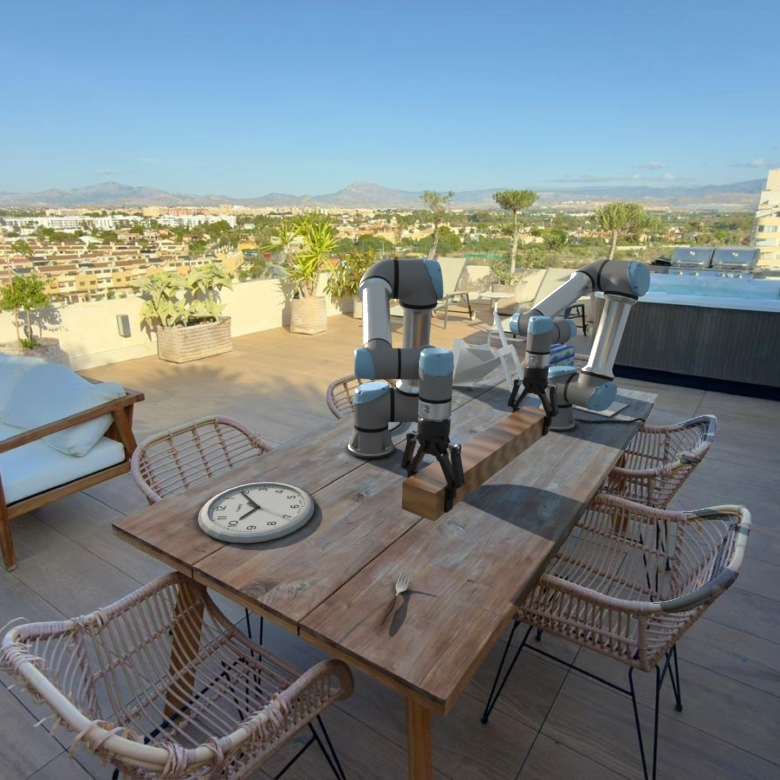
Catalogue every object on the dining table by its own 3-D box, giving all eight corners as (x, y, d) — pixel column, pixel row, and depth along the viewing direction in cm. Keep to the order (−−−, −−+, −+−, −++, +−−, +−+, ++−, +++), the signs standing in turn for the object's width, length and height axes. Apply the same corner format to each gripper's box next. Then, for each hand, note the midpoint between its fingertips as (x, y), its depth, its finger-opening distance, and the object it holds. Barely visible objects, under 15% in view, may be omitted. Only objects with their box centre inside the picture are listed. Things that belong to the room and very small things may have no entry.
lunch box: (547, 395, 239) (552, 351, 233) (526, 390, 247) (530, 347, 240) (574, 384, 257) (579, 343, 251) (554, 380, 264) (558, 339, 258)
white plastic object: (461, 429, 252) (437, 405, 227) (444, 352, 274) (420, 323, 250) (535, 404, 240) (518, 377, 215) (510, 326, 262) (492, 293, 237)
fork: (373, 626, 100) (374, 617, 99) (401, 576, 114) (401, 568, 113) (386, 630, 99) (386, 621, 98) (412, 579, 113) (412, 571, 112)
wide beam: (523, 424, 180) (525, 405, 178) (549, 431, 174) (552, 410, 172) (401, 508, 125) (402, 481, 122) (434, 521, 119) (435, 493, 117)
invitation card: (608, 416, 214) (573, 407, 224) (608, 416, 214) (573, 408, 224) (628, 404, 229) (594, 396, 238) (628, 405, 229) (594, 397, 238)
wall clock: (310, 535, 126) (182, 539, 123) (311, 541, 126) (183, 545, 124) (317, 477, 154) (212, 480, 152) (317, 482, 155) (213, 485, 152)
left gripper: (386, 410, 123) (385, 495, 130) (468, 433, 110) (462, 526, 117) (405, 402, 128) (403, 483, 135) (485, 423, 116) (478, 512, 123)
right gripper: (499, 362, 169) (495, 426, 176) (566, 373, 157) (558, 442, 164) (510, 357, 175) (505, 420, 182) (575, 368, 162) (567, 435, 169)
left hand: (430, 503), depth 126 cm, fingers closed on wide beam, 9 cm apart
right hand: (530, 431), depth 173 cm, fingers closed on wide beam, 9 cm apart
